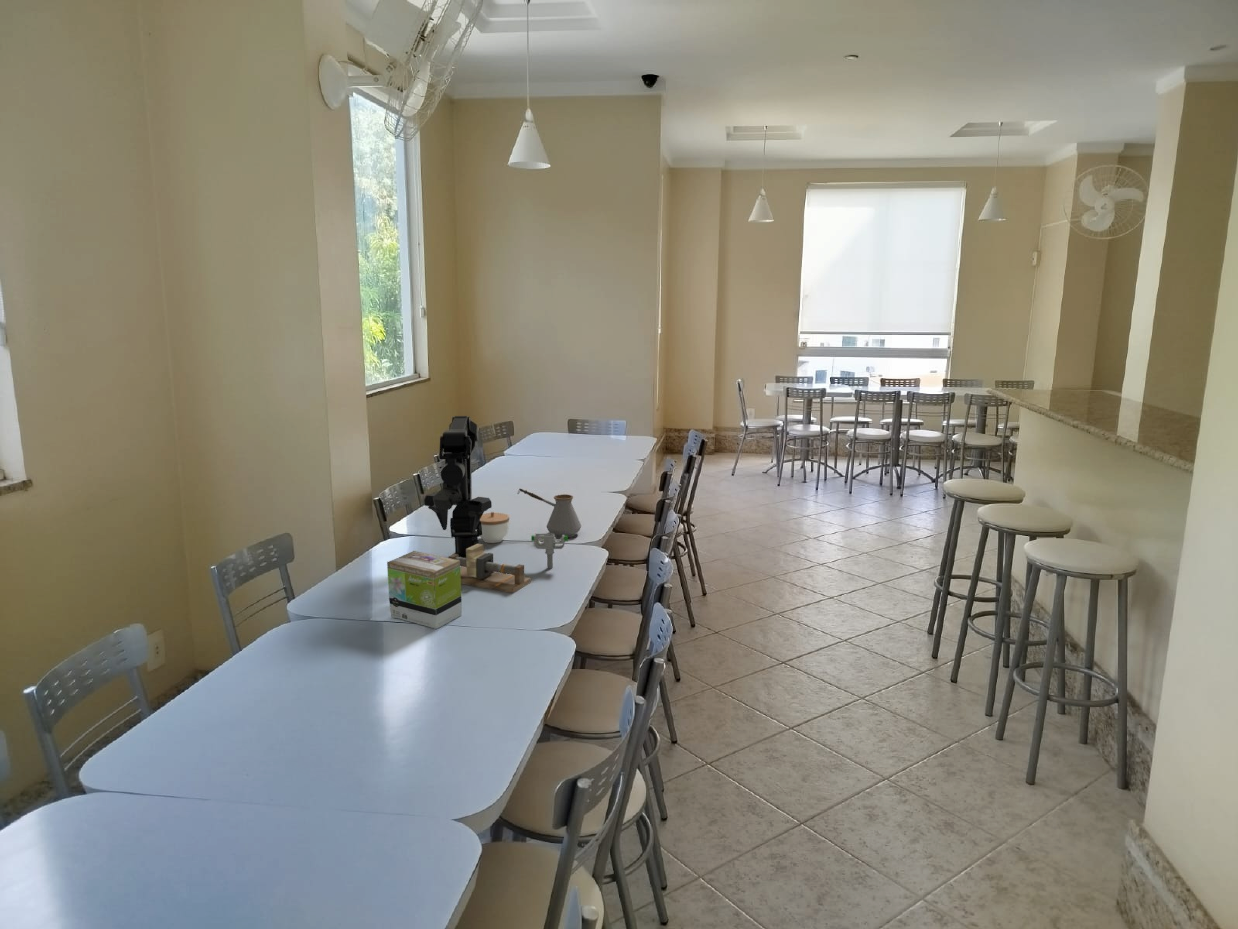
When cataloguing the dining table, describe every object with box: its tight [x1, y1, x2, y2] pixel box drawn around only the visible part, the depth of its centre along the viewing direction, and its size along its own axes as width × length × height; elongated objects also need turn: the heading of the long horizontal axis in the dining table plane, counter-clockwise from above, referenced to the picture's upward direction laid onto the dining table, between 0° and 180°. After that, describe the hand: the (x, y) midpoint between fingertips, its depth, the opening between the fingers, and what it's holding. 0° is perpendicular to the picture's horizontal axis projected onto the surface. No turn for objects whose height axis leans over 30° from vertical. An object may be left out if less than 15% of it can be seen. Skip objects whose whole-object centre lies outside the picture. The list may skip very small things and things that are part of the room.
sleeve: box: [466, 543, 488, 577], centre depth 219 cm, size 3×5×8 cm, turn 156°
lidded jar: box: [479, 511, 510, 544], centre depth 255 cm, size 11×11×9 cm
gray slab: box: [477, 552, 494, 579], centre depth 218 cm, size 2×6×6 cm, turn 156°
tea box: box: [386, 550, 463, 630], centre depth 193 cm, size 15×10×15 cm, turn 62°
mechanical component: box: [531, 533, 568, 570], centre depth 229 cm, size 3×10×10 cm, turn 89°
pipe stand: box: [448, 553, 532, 594], centre depth 218 cm, size 23×9×6 cm, turn 66°
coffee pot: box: [517, 488, 582, 539], centre depth 262 cm, size 21×12×15 cm, turn 80°
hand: (458, 531), depth 220 cm, fingers open, 9 cm apart
